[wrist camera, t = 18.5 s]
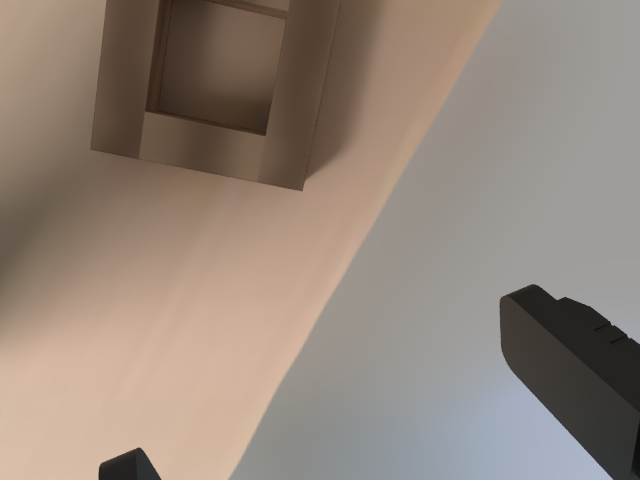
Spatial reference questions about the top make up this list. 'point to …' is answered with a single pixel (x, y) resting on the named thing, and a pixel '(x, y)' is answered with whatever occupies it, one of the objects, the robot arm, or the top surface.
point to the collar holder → (199, 135)
